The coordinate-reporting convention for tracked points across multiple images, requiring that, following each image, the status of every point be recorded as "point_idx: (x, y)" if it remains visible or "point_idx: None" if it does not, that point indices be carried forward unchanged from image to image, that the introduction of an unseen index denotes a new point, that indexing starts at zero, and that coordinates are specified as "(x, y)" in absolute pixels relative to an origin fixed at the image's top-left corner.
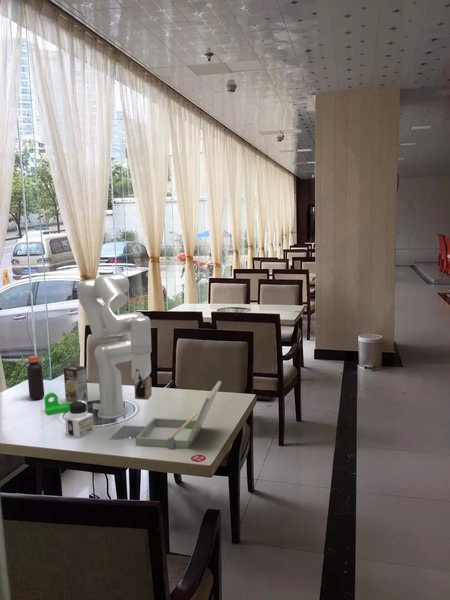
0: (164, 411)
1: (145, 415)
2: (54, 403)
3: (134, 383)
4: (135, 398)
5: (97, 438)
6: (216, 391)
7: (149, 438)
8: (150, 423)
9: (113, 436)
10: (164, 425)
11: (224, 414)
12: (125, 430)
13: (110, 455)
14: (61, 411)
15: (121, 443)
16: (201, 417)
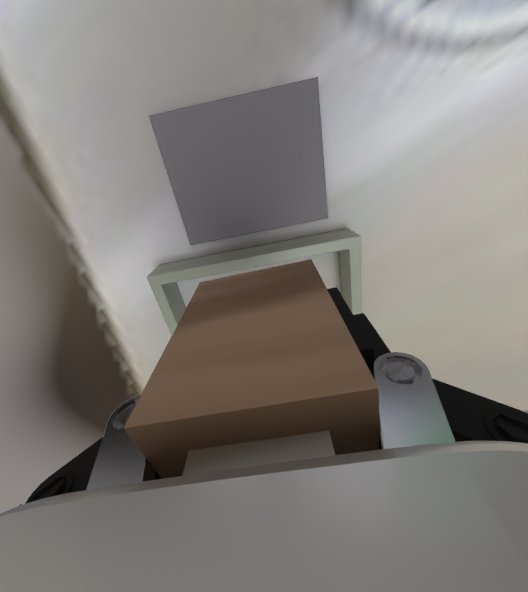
0: (516, 184)
1: (468, 114)
2: None
3: (141, 396)
4: (200, 287)
5: (141, 28)
6: None
7: (169, 324)
8: (296, 256)
9: (186, 116)
10: (342, 276)
11: (469, 386)
12: (264, 133)
13: (57, 216)
14: None
15: (157, 194)
16: None
